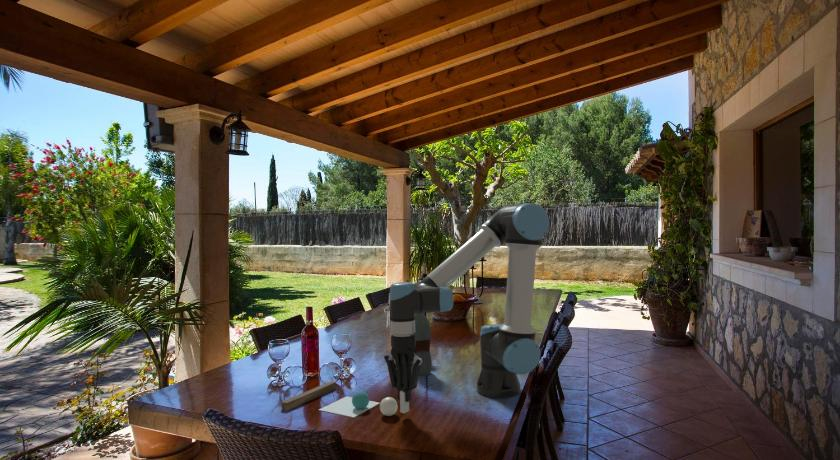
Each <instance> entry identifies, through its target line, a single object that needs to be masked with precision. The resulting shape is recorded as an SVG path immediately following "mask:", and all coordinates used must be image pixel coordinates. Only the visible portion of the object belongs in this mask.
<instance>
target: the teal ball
mask: <svg viewBox="0 0 840 460" xmlns="http://www.w3.org/2000/svg"><path fill="white" fill-rule="evenodd" d="M351 397H352V404H353V406H354V407H355V408H357V409H364V408H366V407H367V405H368V403H369V401H370V397H369V395H368V393H367V392H365V391H362V390H361V391H360V390H359V391H356V392H355V393H354V394H353V395H352V396H351Z"/></svg>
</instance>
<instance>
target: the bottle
mask: <svg viewBox="0 0 840 460" xmlns="http://www.w3.org/2000/svg"><path fill="white" fill-rule="evenodd" d="M413 334H415V340H416V345H415V351H416V353H417V356H418V357H419V358H423V360H424V361H423V363H422V364H421V367H420V372H419V377H426V376H430V375H431V373H432V364H433V363H432V355H431V336H432V330H431V323H430V320H429V319H428V318H427V316H426V315H425V313H415V333H413ZM413 366H414V360H413V361H412V367H411V376H412V370H413ZM419 377H418V378H419Z"/></svg>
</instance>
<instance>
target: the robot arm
mask: <svg viewBox="0 0 840 460" xmlns="http://www.w3.org/2000/svg"><path fill="white" fill-rule="evenodd" d="M549 229H550V218H549V215H548V214H547V212H546V211H545V209H544V208H543V207H541V206H540V205H539V204H536V203H531V202H530V203H528V202H522V203H516V204H508V205H505V206H504V207H501V208H500V209H499V210H497V211H496V212H495V213H494V214H493V215H491V217H489V218H488V219H487V220H485V222H484V223H482V225H481V226H480V230H479V231H478V232H477V233H475V234H474V235H473V236H472V237H470V238H469V239H468V240H467V241H466V242H465V243H464V244H463V245H461V246H460V247H459V248H457V250H455V251H454V252H453V253H452V254H451V255H449V256H448V257H447V258H446V259H445V260H443V261H442V262H441V263H440V264H439V265H438V266H437V267H436V268H434V269H433V270H432V271H431V272H430V273H429V274H427V275H426V276H425V277H424V278H423V279H422V280H419V281H417V282H414V283H413V282H411V281H410V282H393V283H392V284H391V285H389V298H388V299H389V314H390V318H389V319H390V323H389V324H390V325H389V326H390V334H391V335H390V347H391V350H390V352H389V354H386V355H384V356H383V359H384V361H385V362H386V365H387V369H388V374H389V379H390V384H391V388H395V389H396V390H397V401H399V407H400V408H399V410H400V411H399V412H400V413H402V414H407V413H408V412H410V402H411V400H412V391H413V390H415V389H417V387H418V382H419V372H420V367H421V364H422V363H423V361H424V360H423V358H419V357H418V356H417V353H416V351H415V345H416V340H415V334H413V333H415V313H424V314H425V313H427V314H428V313H443V312H450V311H451V310H452V309H453V306H454V293H453V291H452V289H451V288H450V286H451V285H453V284H454V283H455V282H456V281H457V280H458V279H460V278H461V276H463V275H464V274H465V273H467V271H469V270H470V269H471V268H472V267H473V266H474V265H475V264H477V263H478V262H479V261H481V260H482V259H483V258H484V257H485V256H486V255H487V254H489V252H491V251H492V250H493V249H494V248H500V247H501V246H502V245H503V244H504V245H505V246H506V247H507V248H508V262H507V263H508V264H507V275H506V277H507V278H506V293H505V306H504V307H505V308H504V321H503V323H498V324H497V323H495V324H485V325H482V326H481V328H480V335H479V338H480V340H479V341H480V365H481V366H480V367H481V368H480V370H479V375H478V378H477V381H476V392H477V393H478V394H480V395H482V396H485V397H490V398H509V397H514V396H517V395H519V394H520V393H521V392H522V391H521V390H522V389H521V383H520V380H519V376H518V375H526V374H528V373H531V372H532V371H533V370H534V369H535V368H536V367H537V366H538V365H539V363H540V359H541V349H540V346H539V345H538V343H537V342H536V329H534V327H533V326H532V317H533V315H532V314H533V304H534V303H533V301H534V285H535V274H536V273H535V271H536V260H537V259H536V258H537V251H538V250H540V248H541V247H542V240H543V238H544V237H545V235H547V234H548V231H549ZM413 360H414V366H413V370H412V375H411V367H412V361H413Z"/></svg>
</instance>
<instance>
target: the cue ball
mask: <svg viewBox="0 0 840 460" xmlns="http://www.w3.org/2000/svg"><path fill="white" fill-rule="evenodd" d="M379 403H380V404H379V410H380V412H381V414H383V416H386V417H391V416H393V415H395V414H396V413H397V411H398V407H399V406H398V401H397V400H396V399H395V398H394V397H391V396H387V397H385V398H382V399H381V401H380V402H379Z"/></svg>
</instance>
